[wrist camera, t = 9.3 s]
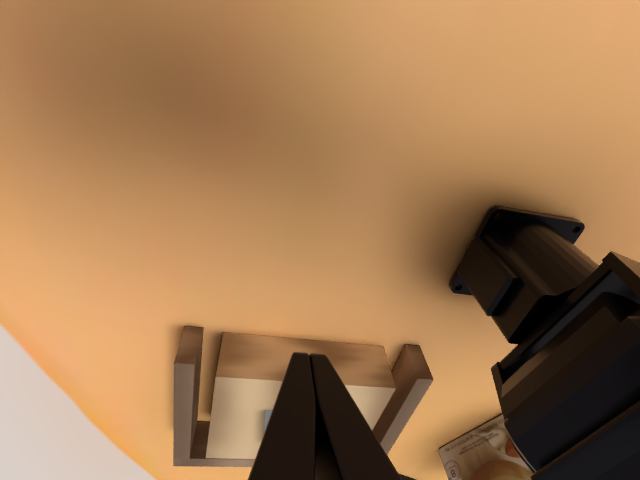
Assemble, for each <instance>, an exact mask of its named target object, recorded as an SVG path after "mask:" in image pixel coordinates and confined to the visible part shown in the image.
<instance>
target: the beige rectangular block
mask: <svg viewBox="0 0 640 480" xmlns="http://www.w3.org/2000/svg"><path fill="white" fill-rule="evenodd" d="M293 352H306V353H308V354H310V353H320V354H325V355H326V356H327V357H328V359H329V360H330V362H331V364H332V365H333V367H334V369H335V370H336V372H337V373H338V375H339V377H340V378H341V380H342V382H343V383H344V385H345V387H346V388H347V390H348V392H349V393H350V395H351V397H352V398H353V400H354V401H355V403H356V405H357V406H358V408H359V410H360V411H361V413H362V415H363V416H364V418H365V420H366V421H367V423H368V425H369V426H370V428H371V429H372V430H373V428H374V426H375V425H376V423H377V421H378V419H379V418H380V416H381V414H382V412H383V410H384V409H385V407H386V405H387V403H388V402H389V400H390V398H391V396H392V394H393V393H394V391H395V389H396V387H395V383H394V380H393V377H392V373H391V370H390V367H389V363H388V360H387V356H386V353H385V350H384V346H373V345H362V344H351V343H340V342H329V341H318V340H306V339H295V338H284V337H273V336H262V335H251V334H240V333H229V332H223V338H222V344H221V349H220V355H219V361H218V366H217V372H216V378H215V386H214V394H213V403H212V411H211V419H210V427H209V435H208V443H207V452H206V458H220V459H255V458H256V455H257V452H258V450H259V447H260V444H261V441H262V438H263V435H264V428H265V410H273V407H274V404H275V401H276V398H277V395H278V393H279V390H280V387H281V384H282V381H283V378H284V375H285V373H286V370H287V367H288V364H289V361H290V358H291V356H292V353H293Z"/></svg>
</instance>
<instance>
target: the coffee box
mask: <svg viewBox="0 0 640 480" xmlns="http://www.w3.org/2000/svg"><path fill="white" fill-rule="evenodd" d="M439 453H440V456H441V459H442V462H443V465H444V468H445V471H446V474H447V476H448V479H449V480H531V475H532V474H533V472H532V471H531V470H530V468H529V467H528V466H527V465H526V464H525V462H524V461H523V460H522V459H521V457H520V456H519V454H518V453H517V451H516V450H515V449H514V447H513V444H512V442H511V440H510V438H509V435H508V433H507V431H506V430H505V426H504V417H503V414H502V415H500V416H498V417H497V418H495V419H493V420H491V421H489V422H487V423H485V424H484V425H482V426H480V427H478V428H476V429H474V430H473V431H471V432H469V433H467V434H465V435H463V436H462V437H460V438H458V439H456V440H454V441H452V442H451V443H449V444H447V445H445V446H443V447H442V448H440V449H439Z"/></svg>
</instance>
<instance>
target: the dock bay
mask: <svg viewBox="0 0 640 480" xmlns="http://www.w3.org/2000/svg"><path fill="white" fill-rule="evenodd" d="M202 342H203V328H200V327H188V326H185V329H184V332H183V335H182V339H181V342H180V345H179V348H178V352H177V355H176V358H175V362H174V458H173V466H211V467H253V464H254V461H255V459H220V458H206V452H207V443H208V435H209V427H210V422H197V416H198V401H199V386H200V371H201V357H202ZM391 373H392V377H393V380H394V383H395V387H396V389H395V391H394V393H393V394H392V396H391V398H390V400H389V402H388V403H387V405H386V407H385V409H384V410H383V412H382V414H381V416H380V418H379V419H378V421H377V423H376V425H375V426H374V428H373V430H372V431H373V433H374V434H375V436H376V438H377V439H378V441H379V443H380V444H381V446H382V448H383V449H384V451H385V453H386V454H388V453H389V451H390V449H391V448H392V446H393V444H394V443H395V441H396V440H397V438H398V436H399V435H400V433H401V432H402V430H403V428H404V427H405V425H406V423H407V422H408V420H409V419H410V417H411V415H412V414H413V412H414V410H415V409H416V407H417V406H418V404H419V402H420V401H421V399H422V398H423V396H424V394H425V393H426V391H427V389H428V388H429V386H430V385H431V383H432V381H433V377H432V375H431V372H430V370H429V367H428V365H427V362H426V360H425V358H424V355H423V353H422V350H421V348H420V346H415V345H405V346H404V348H403V350H402V352H401V354H400V356H399V358H398V360H397V362H396V364H395V366H394V368H393V370H392V372H391Z"/></svg>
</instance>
